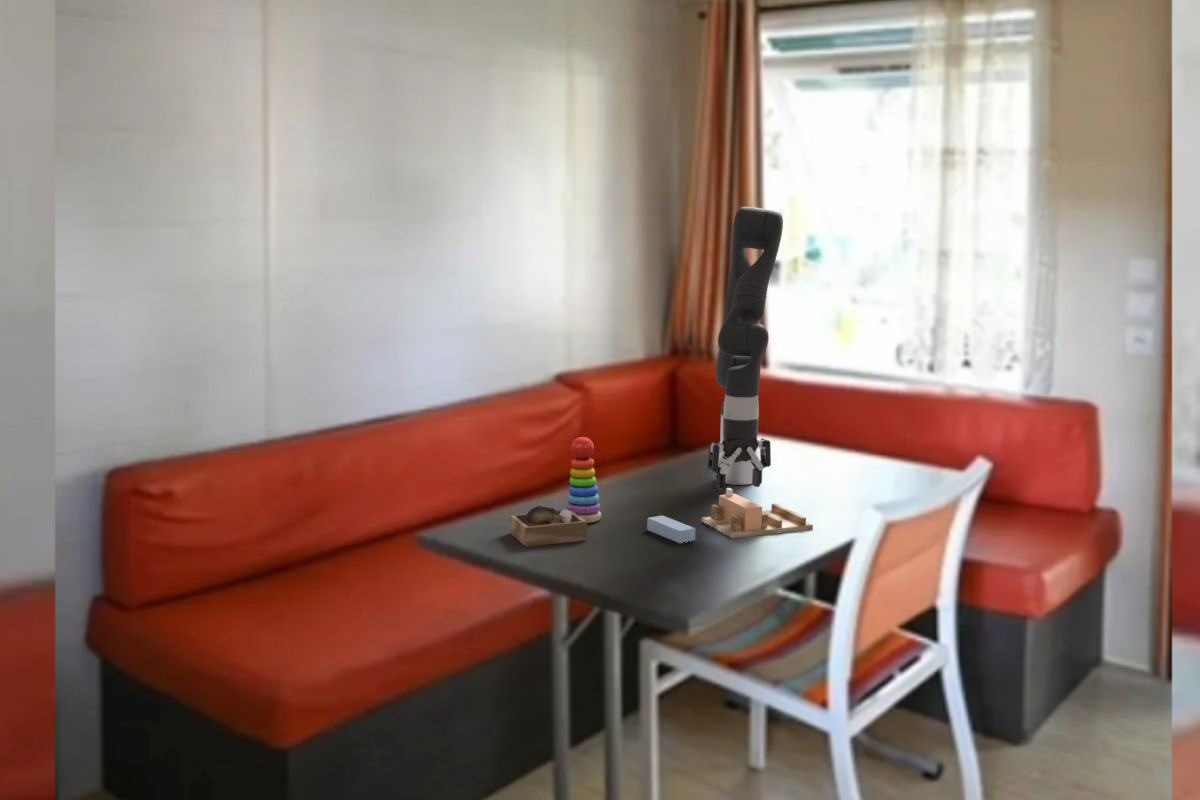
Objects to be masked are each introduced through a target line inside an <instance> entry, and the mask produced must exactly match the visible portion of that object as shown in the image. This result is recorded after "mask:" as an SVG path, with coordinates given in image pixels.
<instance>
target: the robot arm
mask: <svg viewBox="0 0 1200 800" xmlns="http://www.w3.org/2000/svg"><path fill="white" fill-rule="evenodd" d="M782 214H783V213H781V212H780V211H778V210H775V209H768V208H761V207H752V206H751V207H750V206H741V207H739V208H738V209H737V211H736V212H735V215H734V219H733V224H732V225H733V226H732V234H731V235H732V237H731V238H732V239H731V254H730V255H731V256H730V257H731V258H730V268H729V275H728V280H727V281H728V282H727V287H726V295H725V302H724V303H725V304H724V313H723V324H722V326H721V328H720V331H719V333H718V335H717V336H718V337H717V345H718V348H719V350H718V354H717V359H716V365H715V380H716V383H717V385H718V386H719V387H721V388H725V392H724V393H725V396H724V402H722V403H721V406H720V440H719V443H715V442H710V443H709V444H708V445H709V446H708V458H707V469H708V470H710V471H711V472H713V473H715V486H716V488H717V489H718V490H719V491H723V492H724V491H726V484H727V485H732V486H734V485H735V486H736V485H737V486H744V485H745V486H746V485H752V486H753V487H755V488H759V487H760V486H761V484H762V481H763V470H764V469H765V468H769V467H771V464H772V463H771V461H772V459H771V458H772V457H771V453H772V452H771V451H772V450H771V441H770V440H769V439H766V438H764V437H763V438H760V440H759V439H758V435H759V414H760V411H759V409H760V408H759V406H760V404H759V393H760V391H759V390H760V380H761V368H762V367H761V366H762V363H763V359H764V356H765V353H766V350H767V347H768V345H769V339H770V338H769V332H768V330H767V328H766V326H764V325H763V324H760V323H759V322H760V321H761V320H762V319H763V317H764V314H765V308H766V299H767V292H768V287H769V282H770V279H771V276H772V274H773V270H774V267H775V264H776V260H777V256H778V252H779V248H780V245H781V240H782V235H783V229H784V219H783V215H782ZM747 249H752V250H762V251H763V252H762V253H761V255H760V256H759V257H758V259H757V260H756V261H755V262H753V263H751V261H750V258H749V256H748V250H747ZM758 449H759V450H760V451H759V452H760V453H759V454H760V456H759V457H758V454H757V450H758Z"/></svg>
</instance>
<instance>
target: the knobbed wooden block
mask: <svg viewBox="0 0 1200 800" xmlns="http://www.w3.org/2000/svg"><path fill="white" fill-rule="evenodd" d="M718 506H720V507H722V510H721V519H723V520H725V521H727V522H729V523H731V515H738V516H740V517H741V529H742V530H744V531H749V530H758V529H761V525H762V511H763V506H762V505H760V504H758V503H756V502H753V501H752V500H749V499H747V498H745V497H743V496H741V495H738V494H737V493H734V490H733V488H730V487H727V488H726V487H725V494H719V495H718Z"/></svg>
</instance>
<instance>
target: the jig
mask: <svg viewBox="0 0 1200 800" xmlns="http://www.w3.org/2000/svg"><path fill="white" fill-rule="evenodd" d="M721 510H722V507H720V506H719V504H711V512H710V513H711V516H703V517H701V523H703V522H704V523H703V524H705V523H706V524H705V525H707V524H708V525H710V526H711V527H710V526H709V527H710V528H712V527H713V528H712V529H714V528H715V529H714V530H716V529H717V530H716V531H717V532H719V531H720V533H721V532H722V533H721V534H723V535H725V536H727V537H728V536H729V537H728V538H730V539H736V538H737V539H738V538H740V539H741V538H746V537H747V538H748V537H756V536H757V535H758V536H765V534H766V535H772V534H771V533H775V534H779V533H778V532H784V533H789V532H788V531H793V532H799V531H798V530H802V531H807V530H808V531H809V529H811V530H813V529H814V524H812V523H810V522H808V521H807V518H806V516H803V515H801V514H798V513H797V512H794V511H793V510H790V509H789V508H786V507H784V506H781V505H780V504H778V503H771V509H770V510H769V509H768V510H762V525H761V529H758V530H749V531H744V530H742V529H741V517H740V516H738V515H731V523H729V522H727V521H725V520H723V519H721ZM708 525H707V526H708Z"/></svg>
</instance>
